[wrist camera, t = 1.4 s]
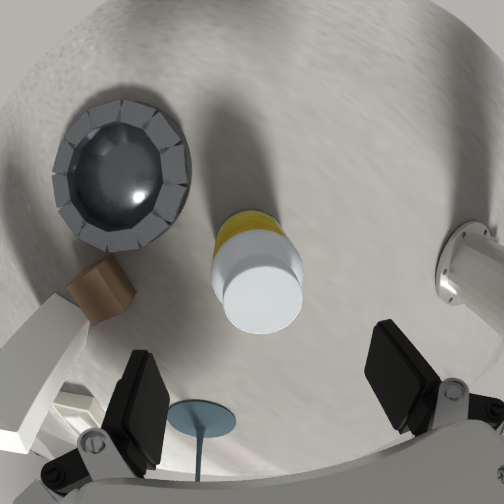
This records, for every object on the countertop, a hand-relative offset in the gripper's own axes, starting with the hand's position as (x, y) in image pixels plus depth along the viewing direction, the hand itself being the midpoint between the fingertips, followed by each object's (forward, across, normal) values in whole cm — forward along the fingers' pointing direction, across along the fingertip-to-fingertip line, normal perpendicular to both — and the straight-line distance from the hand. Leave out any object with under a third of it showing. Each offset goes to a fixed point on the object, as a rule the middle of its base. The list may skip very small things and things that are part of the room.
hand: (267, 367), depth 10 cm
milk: (+18, +23, +8) cm, 30 cm away
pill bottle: (+17, -1, 0) cm, 17 cm away
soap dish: (+17, +31, +30) cm, 47 cm away
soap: (+17, +31, +30) cm, 47 cm away
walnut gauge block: (+17, +15, +3) cm, 23 cm away
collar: (+17, +11, -8) cm, 22 cm away
